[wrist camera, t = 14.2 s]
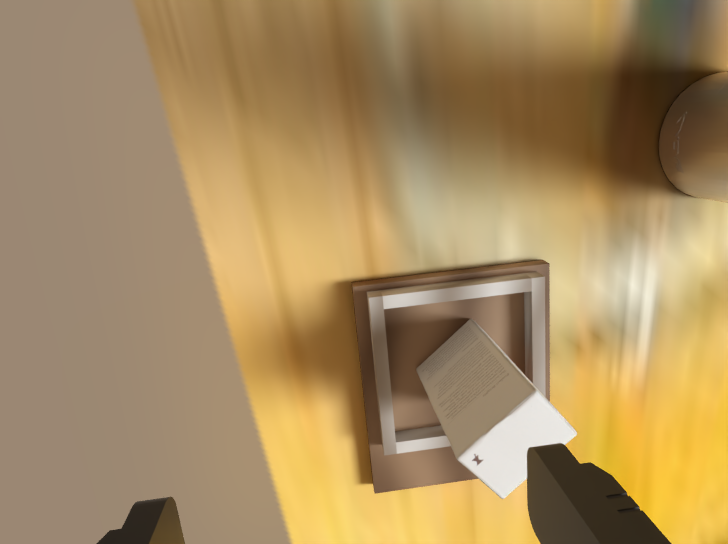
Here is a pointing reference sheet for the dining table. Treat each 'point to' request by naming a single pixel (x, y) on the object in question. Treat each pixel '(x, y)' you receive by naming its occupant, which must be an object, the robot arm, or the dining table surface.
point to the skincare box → (489, 408)
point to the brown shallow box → (422, 338)
